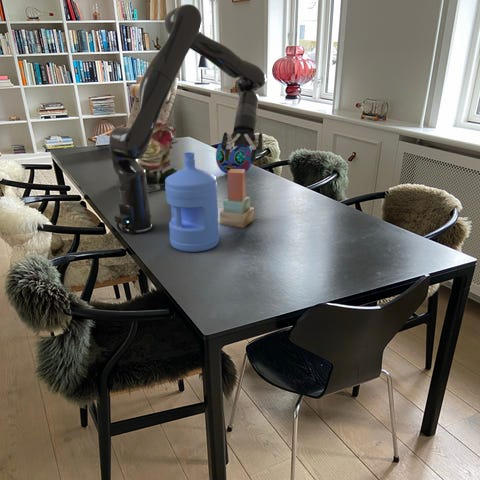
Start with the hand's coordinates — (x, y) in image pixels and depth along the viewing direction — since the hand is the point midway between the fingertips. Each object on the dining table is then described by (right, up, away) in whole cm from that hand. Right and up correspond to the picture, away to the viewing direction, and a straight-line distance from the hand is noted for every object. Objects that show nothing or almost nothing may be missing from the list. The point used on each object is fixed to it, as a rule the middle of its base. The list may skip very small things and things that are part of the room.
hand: (239, 161), depth 168 cm
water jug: (-14, -30, -11) cm, 36 cm away
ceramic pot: (-3, +15, +64) cm, 66 cm away
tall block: (-1, -13, +1) cm, 13 cm away
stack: (-1, -20, +6) cm, 21 cm away
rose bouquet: (-39, +5, +49) cm, 63 cm away
